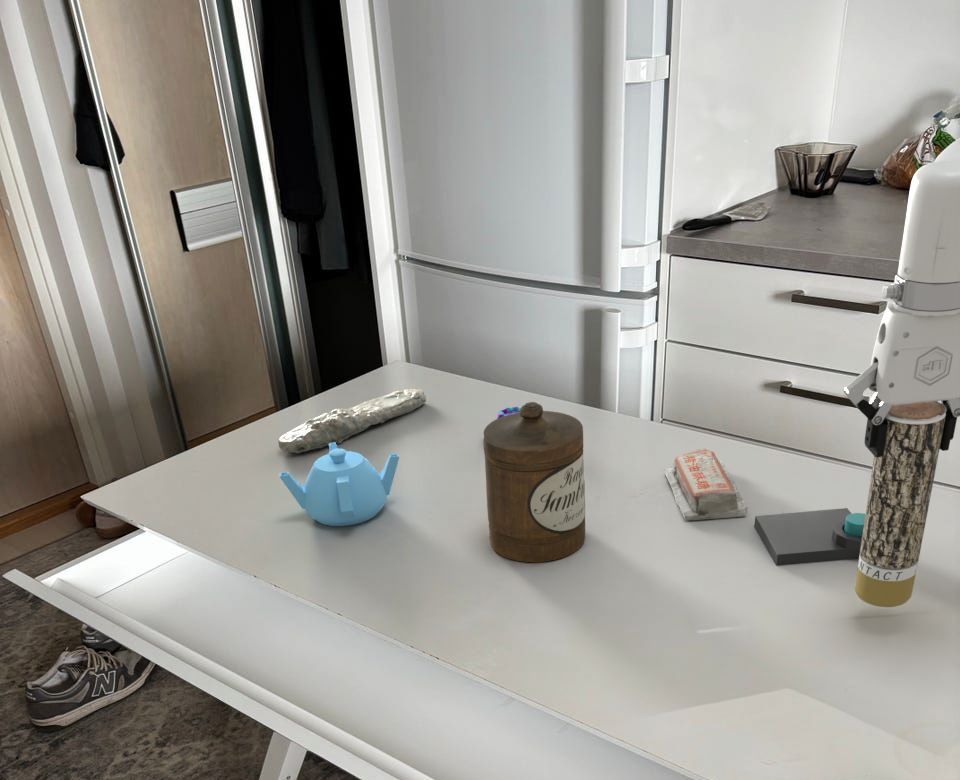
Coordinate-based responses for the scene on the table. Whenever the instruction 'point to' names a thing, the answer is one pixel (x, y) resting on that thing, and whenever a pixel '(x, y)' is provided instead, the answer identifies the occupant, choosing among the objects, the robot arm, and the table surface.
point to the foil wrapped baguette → (350, 421)
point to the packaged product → (704, 487)
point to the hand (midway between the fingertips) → (907, 448)
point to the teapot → (343, 487)
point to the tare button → (855, 524)
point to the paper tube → (899, 503)
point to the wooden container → (535, 484)
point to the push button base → (808, 537)
